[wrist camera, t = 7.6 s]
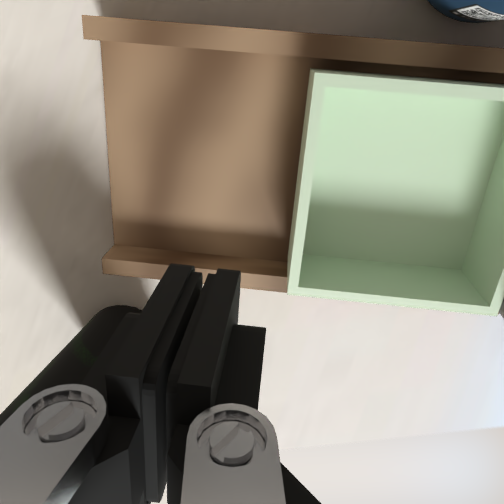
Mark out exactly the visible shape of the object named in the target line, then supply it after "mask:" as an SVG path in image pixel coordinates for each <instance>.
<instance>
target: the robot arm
mask: <svg viewBox="0 0 504 504" xmlns="http://www.w3.org/2000/svg"><path fill="white" fill-rule="evenodd" d="M240 283H241V271H239V270H229V269H220V268H218V269H217V272H216V274H211V273H208V275H207V278H206V280H205V283H204V285H203V288H202V284H203V275H202V272H195V267H194V266H192V265H183V264H173V263H171V264H170V265H169V266H168V268H167V270H166V272H165V273H164V275H163V277H162V278H161V280H160V282H159V283H158V285H157V287H156V289H155V290H154V292H153V294H152V295H151V297H150V299H149V300H148V302H147V304H146V306H145V307H144V309H143V311H142V312H141V314H140V313H131V312H130V313H127V314H126V315H125V316H124V318H123V319H122V321H121V322H120V324H119V325H118V327H117V329H116V330H115V332H114V333H113V335H112V336H111V338H110V339H109V341H108V343H107V344H106V346H105V347H104V349H103V350H102V352H101V353H100V355H99V356H98V358H97V360H96V361H95V363H94V364H93V366H92V367H91V369H90V370H89V372H88V374H87V375H86V377H85V378H84V380H83V381H82V383H81V384H80V385H79V384H66V385H58V386H55V387H52V388H48V389H45V390H43V391H41V392H39V393H37V394H35V395H33V396H32V397H31V398H29V399H28V400H27V401H26V402H24V403H23V404H22V405H21V406H20V407H19V408H18V409H17V410H16V411H15V412H14V413H13V414H12V415H11V416H10V417H9V418H8V419H7V420H6V421H5V422H4V423H3V424H2V425H1V426H0V504H150V503H151V502H158V503H159V502H160V501H161V499H162V496H163V493H164V489H165V485H166V483H167V503H168V504H321V503H320V502H319V501H318V500H317V499H316V498H315V497H314V496H313V495H312V494H311V493H310V492H309V491H308V490H307V489H306V488H305V487H304V486H303V485H302V484H301V483H300V482H299V481H298V480H297V479H296V478H295V477H294V475H292V473H290V472H289V470H287V468H286V467H284V465H282V463H281V462H280V457H279V449H278V442H277V436H276V433H275V430H274V427H273V425H272V424H271V422H270V421H269V420H268V418H267V417H266V416H265V415H263V414H262V413H260V412H259V411H258V401H259V392H260V382H261V373H262V363H263V354H264V344H265V335H266V328H263V327H254V326H245V325H237V324H238V310H239V297H240Z"/></svg>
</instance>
